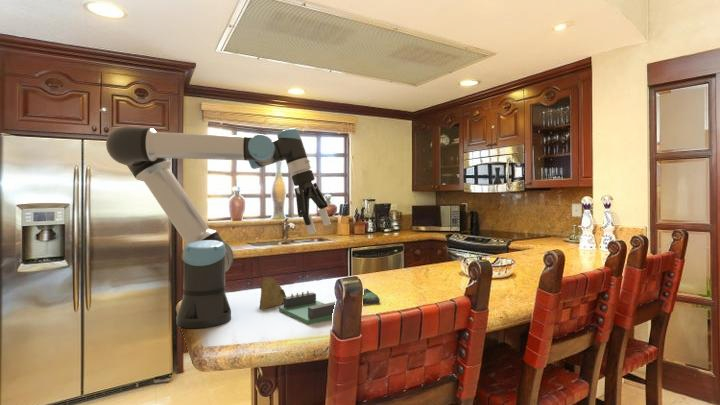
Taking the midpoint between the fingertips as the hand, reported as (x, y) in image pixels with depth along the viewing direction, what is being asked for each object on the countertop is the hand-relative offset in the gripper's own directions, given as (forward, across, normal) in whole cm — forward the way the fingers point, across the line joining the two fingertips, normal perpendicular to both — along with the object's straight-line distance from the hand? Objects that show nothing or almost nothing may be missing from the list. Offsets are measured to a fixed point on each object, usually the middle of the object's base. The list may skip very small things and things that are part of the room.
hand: (320, 229), depth 130 cm
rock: (+20, -11, +21) cm, 31 cm away
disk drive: (+30, +4, -4) cm, 31 cm away
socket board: (+23, -17, +4) cm, 29 cm away
